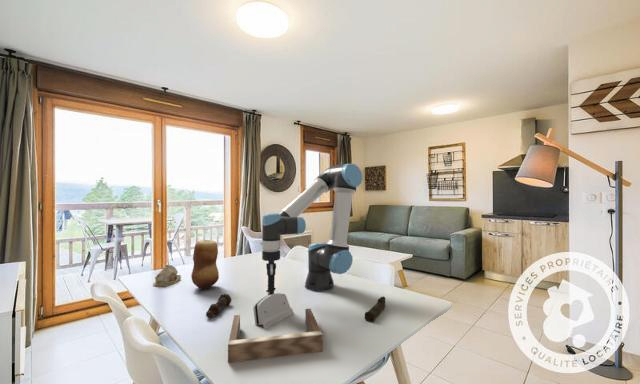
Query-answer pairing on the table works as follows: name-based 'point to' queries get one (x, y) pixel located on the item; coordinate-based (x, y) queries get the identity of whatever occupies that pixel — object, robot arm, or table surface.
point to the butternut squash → (205, 264)
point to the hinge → (271, 309)
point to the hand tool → (375, 310)
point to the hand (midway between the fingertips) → (270, 306)
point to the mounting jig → (275, 342)
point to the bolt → (218, 305)
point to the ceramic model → (167, 276)
